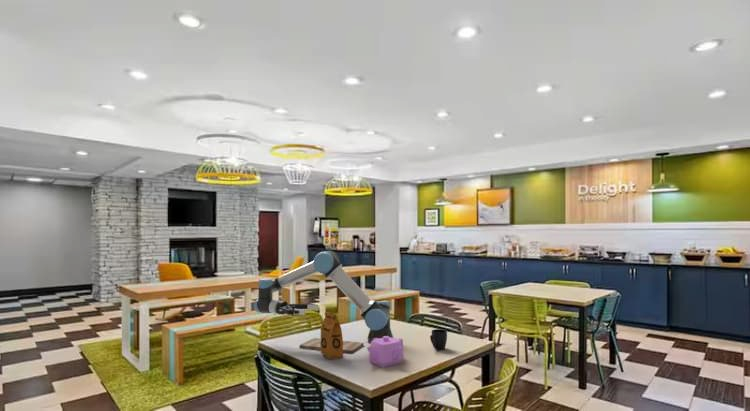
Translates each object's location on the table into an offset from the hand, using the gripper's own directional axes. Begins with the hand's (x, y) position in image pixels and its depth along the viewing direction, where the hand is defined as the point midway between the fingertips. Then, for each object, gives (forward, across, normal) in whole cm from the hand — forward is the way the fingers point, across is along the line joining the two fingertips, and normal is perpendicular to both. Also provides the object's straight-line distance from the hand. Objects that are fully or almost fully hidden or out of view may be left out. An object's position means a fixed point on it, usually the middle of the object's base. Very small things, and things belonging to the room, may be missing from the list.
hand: (311, 310), depth 222 cm
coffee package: (+16, +5, -22) cm, 27 cm away
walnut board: (+7, -10, -22) cm, 25 cm away
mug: (+64, -24, -21) cm, 72 cm away
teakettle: (+46, +5, -22) cm, 51 cm away
